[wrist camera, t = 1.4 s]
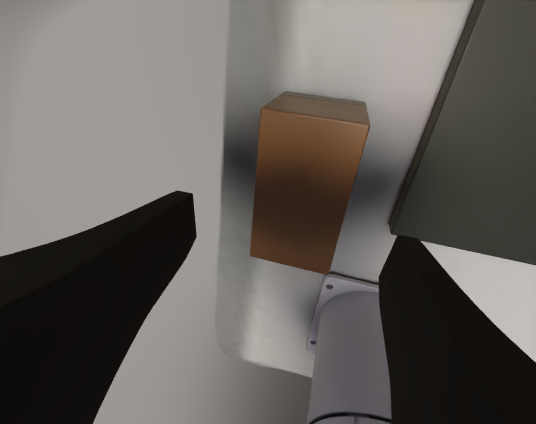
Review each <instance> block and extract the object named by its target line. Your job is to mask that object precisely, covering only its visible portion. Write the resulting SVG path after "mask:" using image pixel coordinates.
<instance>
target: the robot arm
mask: <svg viewBox="0 0 536 424" xmlns="http://www.w3.org/2000/svg"><path fill="white" fill-rule="evenodd" d="M195 239H196V226H195V213H194V202H193V194H192V193H187V192H182V191H175V192H172V193H170V194H167V195H165V196H163V197H161V198H159V199H157V200H155V201H152V202H151V203H148V204H146V205H144V206H142V207H140V208H137V209H135V210H133V211H131V212H129V213H127V214H124V215H122V216H120V217H118V218H115V219H113V220H110V221H108V222H106V223H103V224H101V225H98V226H96V227H94V228H91V229H88V230H86V231H83V232H81V233H78V234H75V235H73V236H69V237H66V238H63V239H60V240H57V241H54V242H51V243H48V244H45V245H41V246H37V247H34V248H31V249H27V250H23V251H20V252H16V253H13V254H9V255H5V256H1V257H0V424H93V422H94V419H95V417H96V415H97V413H98V410H99V408H100V406H101V404H102V402H103V400H104V398H105V396H106V394H107V391H108V389H109V387H110V385H111V383H112V381H113V379H114V377H115V375H116V373H117V371H118V369H119V367H120V365H121V363H122V361H123V359H124V357H125V355H126V354H127V351H128V350H129V348H130V346H131V344H132V342H133V340H134V338H135V337H136V335H137V333H138V331H139V329H140V327H141V326H142V324H143V322H144V320H145V319H146V317H147V315H148V313H149V312H150V310H151V309H152V307H153V306H154V305H155V303H156V302H157V300H158V299H159V297H160V296H161V294H162V293H163V291H164V290H165V289H166V287H167V286H168V284H169V283H170V281H171V280H172V278H173V277H174V275H175V274H176V273H177V271H178V270H179V268H180V267H181V265H182V264H183V262H184V261H185V259H186V257H187V255H188V253H189V251H190V249H191V247H192V245H193V243H194V241H195ZM328 284H331V285H332V286H329V285H328ZM306 350H307V351H308V352H311V353H314V354H315V361H314V370H313V378H312V387H311V395H310V402H309V410H308V419H307V424H536V363H535V362H534V361H533V360H532V359H531V358H530V357H529V356H528V355H527V354H526V353H524V352H523V351H522V350H521V349H520V348H519V347H518V346H517V345H516V344H515V343H514V342H512V341H511V340H510V339H509V338H508V337H507V336H506V335H505V334H504V333H503V332H502V331H501V330H500V329H499V328H498V327H497V326H496V325H495V324H494V323H493V322H492V321H491V320H490V319H489V318H488V317H487V316H486V315H485V314H484V313H483V312H482V311H481V310H480V309H479V308H478V307H477V306H476V305H475V304H474V303H473V301H472V300H471V299H470V298H469V297H468V296H467V295H466V294H465V293H464V292H463V290H462V289H461V288H460V287H459V286H458V285H457V284H456V283H455V281H454V280H453V279H452V278H451V277H450V276H449V274H448V273H447V272H446V271H445V270H444V269H443V267H442V266H441V265H440V264H439V263H438V261H437V260H436V259H435V258H434V257H433V255H432V254H431V253H430V252H429V251H428V249H427V248H426V247H425V246H424V245H423V244H422V243H421V241H420V240H419V239H418V238H414V237H409V236H404V235H399V234H398V236H397V238H396V240H395V242H394V244H393V247H392V249H391V251H390V253H389V255H388V258H387V260H386V262H385V264H384V267H383V269H382V271H381V273H380V275H379V285H375V284H371V283H367V282H363V281H359V280H355V279H351V278H347V277H343V276H339V275H335V274H328V275H326V276H325V278H324V281H323V285H322V289H321V292H320V296H319V300H318V303H317V307H316V311H315V314H314V318H313V322H312V325H311V329H310V333H309V336H308V340H307V344H306Z"/></svg>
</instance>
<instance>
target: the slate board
mask: <svg viewBox="0 0 536 424" xmlns="http://www.w3.org/2000/svg"><path fill="white" fill-rule="evenodd" d="M389 227H390V232H391V234H392V235H397V236H398V234H399V235H404V236H409V237H414V238H418V239H419V240H420V241H425V242H430V243H434V244H439V245H444V246H448V247H453V248H458V249H462V250H467V251H472V252H476V253H481V254H486V255H490V256H495V257H500V258H504V259H509V260H514V261H518V262H523V263H528V264H532V265H536V0H475V2H474V5H473V7H472V10H471V13H470V15H469V18H468V20H467V23H466V26H465V28H464V31H463V33H462V36H461V38H460V41H459V44H458V46H457V49H456V51H455V54H454V57H453V59H452V62H451V64H450V67H449V70H448V72H447V75H446V77H445V80H444V83H443V85H442V88H441V90H440V93H439V95H438V98H437V101H436V103H435V106H434V108H433V111H432V114H431V116H430V119H429V121H428V124H427V127H426V129H425V132H424V134H423V137H422V140H421V142H420V145H419V147H418V150H417V152H416V155H415V158H414V160H413V163H412V165H411V168H410V171H409V173H408V176H407V178H406V181H405V184H404V186H403V189H402V191H401V194H400V197H399V199H398V202H397V204H396V207H395V209H394V212H393V215H392V217H391V220H390V222H389Z"/></svg>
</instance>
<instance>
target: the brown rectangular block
mask: <svg viewBox="0 0 536 424" xmlns="http://www.w3.org/2000/svg"><path fill="white" fill-rule="evenodd" d="M369 128H370V123H369V118H368V113H367V108H366V104H365V102H358V101H350V100H343V99H336V98H329V97H322V96H315V95H308V94H301V93H294V92H287V91H286V92H284V93H283V94H281V95H280V96H278V97H277V98H275V99H274V100H272V101H271V102H269V103H268V104H267V105H265V106H264V107H262V108H261V115H260V128H259V141H258V155H257V168H256V181H255V194H254V207H253V221H252V234H251V247H250V256H252V257H256V258H260V259H264V260H268V261H272V262H276V263H280V264H284V265H288V266H292V267H296V268H300V269H304V270H309V271H313V272H317V273H321V274H325V275H328V274H329V270H330V267H331V263H332V260H333V256H334V253H335V249H336V245H337V242H338V238H339V235H340V231H341V228H342V224H343V221H344V217H345V213H346V210H347V206H348V203H349V199H350V196H351V192H352V188H353V185H354V181H355V178H356V174H357V171H358V167H359V164H360V160H361V156H362V153H363V149H364V146H365V142H366V139H367V135H368V131H369Z"/></svg>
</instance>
